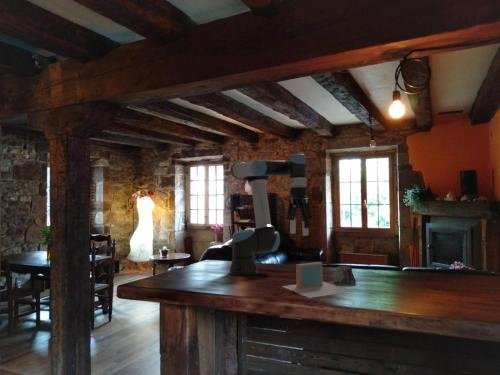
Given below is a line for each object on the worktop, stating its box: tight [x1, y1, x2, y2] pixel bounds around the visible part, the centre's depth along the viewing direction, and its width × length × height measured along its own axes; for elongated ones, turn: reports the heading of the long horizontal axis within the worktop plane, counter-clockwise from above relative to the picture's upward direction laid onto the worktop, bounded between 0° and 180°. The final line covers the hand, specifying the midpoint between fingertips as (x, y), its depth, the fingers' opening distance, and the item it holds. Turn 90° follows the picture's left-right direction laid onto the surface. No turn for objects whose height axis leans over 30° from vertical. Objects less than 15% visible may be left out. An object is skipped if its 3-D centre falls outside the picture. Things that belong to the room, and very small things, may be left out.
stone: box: [333, 265, 357, 286], centre depth 171 cm, size 10×10×10 cm
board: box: [281, 281, 354, 299], centre depth 159 cm, size 22×22×1 cm
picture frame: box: [295, 261, 324, 289], centre depth 163 cm, size 3×12×10 cm, turn 115°
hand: (299, 234), depth 171 cm, fingers open, 10 cm apart
